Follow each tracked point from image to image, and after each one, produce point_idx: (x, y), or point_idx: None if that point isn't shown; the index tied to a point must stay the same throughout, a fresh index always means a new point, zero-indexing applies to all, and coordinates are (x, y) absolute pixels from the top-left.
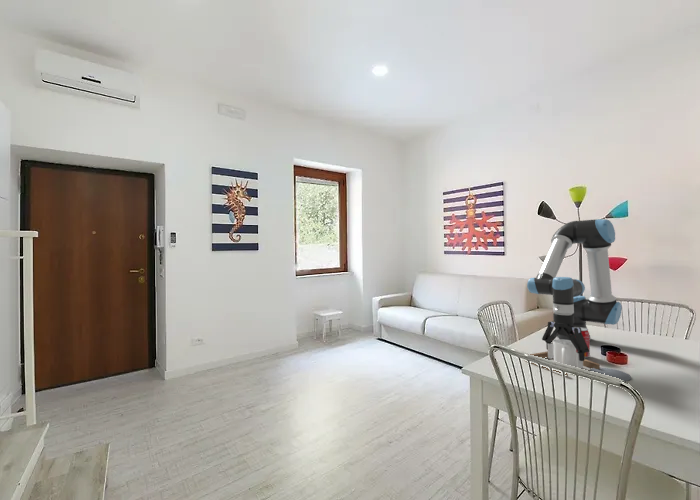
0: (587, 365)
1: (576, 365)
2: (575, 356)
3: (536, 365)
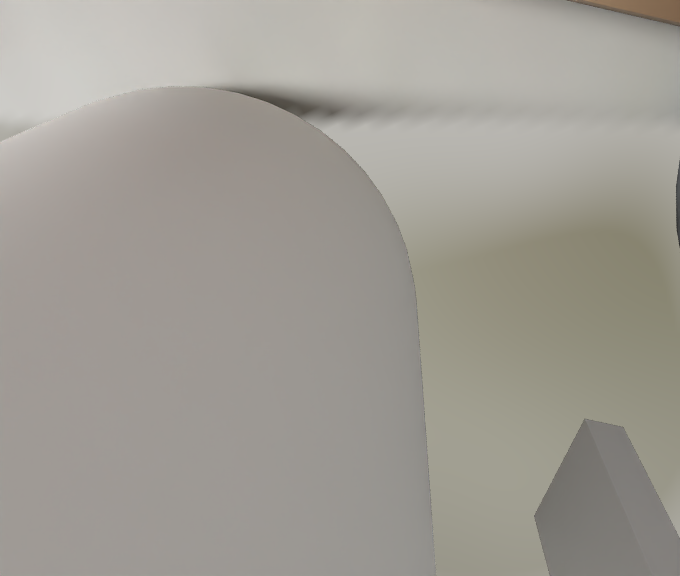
0: (577, 2)
1: (548, 564)
2: (425, 442)
3: None
